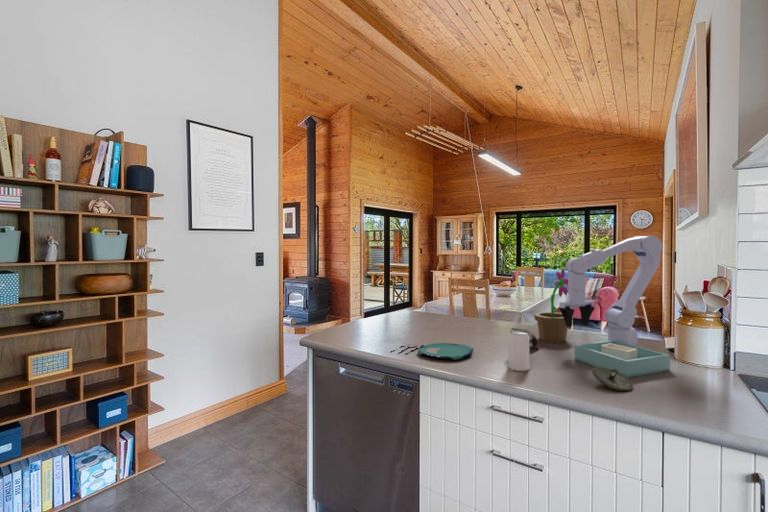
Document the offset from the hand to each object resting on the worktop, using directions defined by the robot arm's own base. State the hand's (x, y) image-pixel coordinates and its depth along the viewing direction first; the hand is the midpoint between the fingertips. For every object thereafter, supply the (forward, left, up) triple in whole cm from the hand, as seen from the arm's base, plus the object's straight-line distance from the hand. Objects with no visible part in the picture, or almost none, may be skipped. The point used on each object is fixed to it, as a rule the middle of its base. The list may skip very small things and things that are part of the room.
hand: (576, 325), depth 144 cm
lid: (+18, +31, -10) cm, 37 cm away
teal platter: (+50, -19, -10) cm, 55 cm away
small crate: (0, +18, -9) cm, 20 cm away
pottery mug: (+14, -11, -10) cm, 20 cm away
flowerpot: (-4, -17, -10) cm, 20 cm away
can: (+33, +9, -10) cm, 36 cm away
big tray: (0, +18, -9) cm, 20 cm away
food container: (+26, +2, -10) cm, 28 cm away
